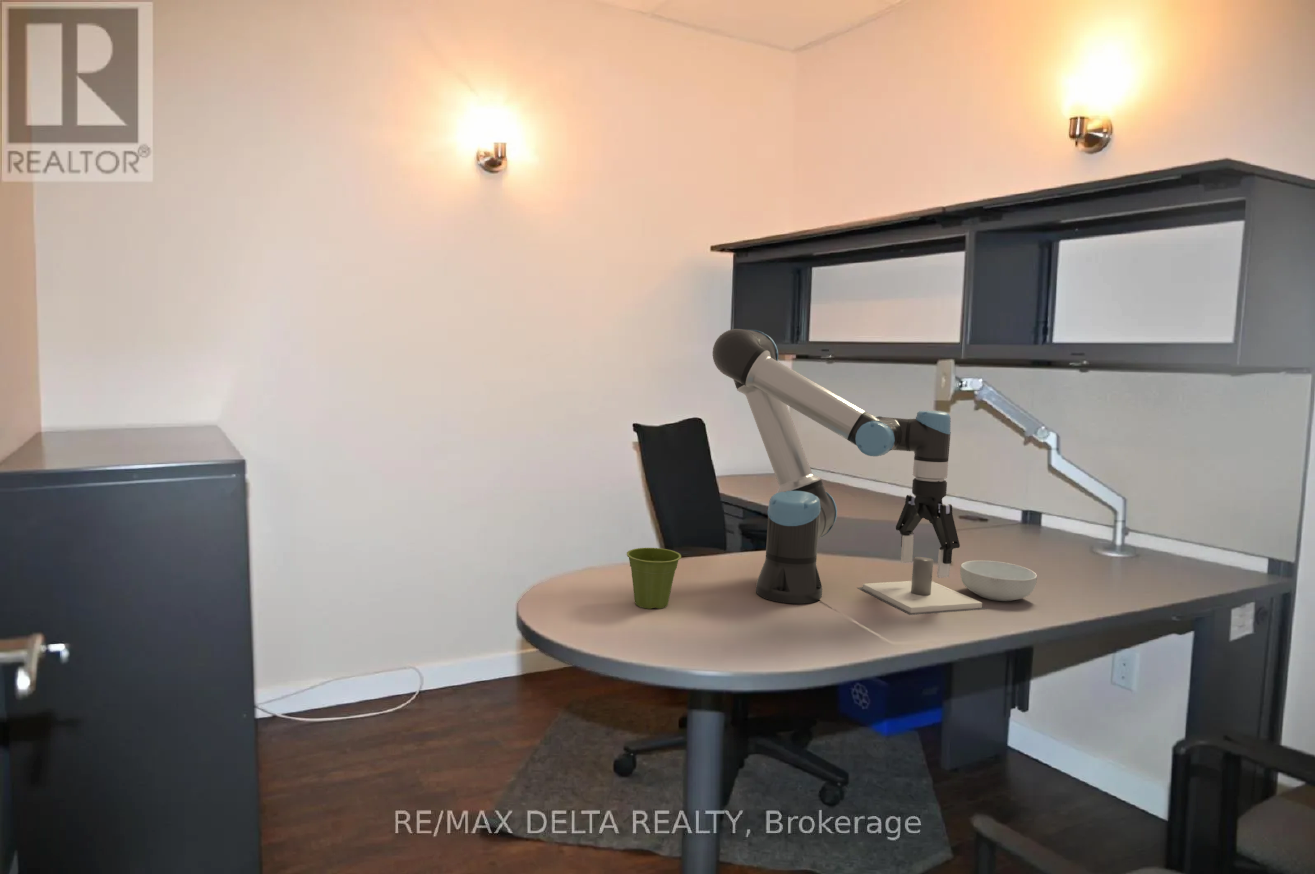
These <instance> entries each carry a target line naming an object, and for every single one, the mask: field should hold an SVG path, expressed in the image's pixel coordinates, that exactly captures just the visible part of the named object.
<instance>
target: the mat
mask: <svg viewBox="0 0 1315 874" xmlns="http://www.w3.org/2000/svg"><path fill="white" fill-rule="evenodd" d="M862 587H863V586H862ZM862 587H857V589H858V590H860V591H862V592H864V593H866V594H868V596H869V595H870V596H871V597H873V598H876V599H877V600H879V601H881V602H883V603H886V604H887V605H889V606H891V607H893V608H895V609H896V610H899V611H901V612H903V613H905V614H907V615H909V616H915V615H917V616H918V615H928V614H930V615H931V614H943V613H953V612H954V613H955V612H956V613H957V612H968V611H969V612H970V611H981V610H988V608H987V607H985V606H983V605H982V608H973V609H960V610H946V611H933V612H919V613H910V612H908V611H906V610H904V609H902V608H900V607H898V606H896V605H894V604H892V603H890V602H888V601H886V600H884V599H882V598H880V597H878V596H876V595H874V594H872V593H870V592H868V591H866V590H864V589H862Z"/></svg>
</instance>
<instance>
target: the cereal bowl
mask: <svg viewBox="0 0 1315 874" xmlns="http://www.w3.org/2000/svg"><path fill="white" fill-rule="evenodd" d="M959 571H960V572H959V573H960V578H961V582H962V583H963V585H964V586H965V587H966V589H968V590H969V591H970V592H972V593H973V594H976V595H977V596H979V597H981V598H983V599H987V600H992V601H998V602H1012V601H1015V600H1016V601H1017V600H1021V599H1024V598H1026V597H1028V596H1029V595H1031V594H1032V593H1033V592H1034V590H1035V588H1036V586H1037V580H1038V575H1037V573H1036V572H1034V571H1033V570H1032V569H1029V568H1027V567H1025V566H1023V565H1022V566H1021V565H1019V564H1014V563H1010V562H1003V561H997V560H968V561H964V562H963V563H961V564H960V570H959Z"/></svg>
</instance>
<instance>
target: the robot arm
mask: <svg viewBox="0 0 1315 874" xmlns="http://www.w3.org/2000/svg"><path fill="white" fill-rule="evenodd" d="M776 344H777V343H775V341H774V339H773V338H772V337H771V336H770V335H768V334H766V333H764V332H763V331H760V330H757V329H744V328H743V329H742V328H732V329H729V330H726V331H724V332H723V333H721V334H720V335H719V336H718V337H717V339H716V340H715V341H714V344H713V347H712V359H713V360H712V361H713V363H714V365H715V367H716V369H718V371H719V372H720V373H722V374H723V375H725V376H726V377H728V378H730V379H732V380H733V382H734V385H735V388H736V391H738V392H739V393H742V394H743V395H745V398H746V399H747V403H748V405H749V408H750V411H751V413H752V415H753V418H754V422H755V425H756V427H757V429H758V432H759V435H760V437H761V440H762V442H763V443H762V444H763V446H764V448H765V451H766V453H767V456H768V459H769V462H770V464H771V467H772V469H773V472H774V475H775V477H776V481H777V483H778V488H777V489H776V490H777V491H776V493H774V494H773V495H772V496H771V497H770V498H769V503H768V507H767V527H766V528H767V529H766V530H767V531H766V541H765V542H766V543H765V544H766V545H765V546H766V547H765V560H764V563H763V566H762V567H761V569H760V573H759V575H758V578H757V580H756V583H755V584H756V587H755V592H756V594H757V595H758V596H759V597H761V598H763V599H765V600H769V601H772V602H776V603H777V602H778V603H782V604H783V603H784V604H793V605H794V604H795V605H796V604H798V605H799V604H800V605H801V604H802V605H803V604H813V603H816V602H818V601H820V599H821V598H822V597H823V596H822V595H823V586H822V582H821V579H820V578H821V576H820V574H819V571H818V566H817V560H818V559H817V556H818V541H819V539H820V538H822V537H824V536H826V535H827V534H828V533H829V532H830V531H831V530H832V528H833V526H835V523H836V521H837V518H838V508H837V503H836V502H835V499H834V497H833V496H832V495H831V494H830V493H829V492H828V491H827V490H826V488H825V486H824V484H823V480H822V478H821V477H819V476H817V475H815V474H814V473H813V472H812V469H811V466H810V464H809V461H808V458H807V456H806V453H805V450H804V448H803V444H802V443H801V439H800V437H799V434H798V432H797V429H796V427H795V424H794V420H793V419H792V415H791V413H790V411H789V408H788V406H789V407H790V408H791V409H793V410H795V411H797V412H799V413H800V414H802V415H803V416H805V417H807V418H809V419H810V420H812V421H814V422H815V423H817V424H819V425H821V426H822V427H825V428H827V429H828V430H830V431H831V432H833V433H835V434H837V435H838V436H839V437H842V438H843V439H846V440H847V441H848V442H850V443H851V444H853V445H855V446H856V447H857V448H858V450H859V451H860V452H861V453H862V454H864V455H866V456H868V457H879V456H880V457H881V456H884V455H886V454H888V453H889V452H890V451H901V452H902V451H903V452H914V455H913V466H912V467H913V468H912V475H913V477H914V478H913V479H912V485H911V487H912V488H911V489H912V490H911V494H907V495H906V496H905V500H904V501H905V502H904V505H903V508H902V510H901V513H900V515H899V518H898V521H897V523H896V525H895V529H896V531H899V532H900V533H899V534H900V535H901V536H900V537H901V542H900V547H901V549H900V550H901V551H900V552H901V553H900V563H902V564H907V563H908V564H910V563H913V556H914V554H913V552H914V537H915V536H914V530H915V529H916V528H917V527H918V525H919V523H920V522H921V521H922V519H925V520H927V521H928V522H929V523H930V524H932V527H933V529H934V532H935V535H936V537H937V540H938V541H939V544H940V546H939V548H938V557H937V571H936V572H937V573H936V574H937V575H936V577H937V578H938V579H940V578H941V579H942V578H950V571H951V564H952V559H953V558H952V556H953V550H955V549H959V548H960V547H961V544H960V540H959V535H958V532H957V529H956V523H955V521H954V520H955V519H954V516H953V505H952V504H951V503H947V504H946V503H943V499H944V498H945V497H946V496H947V492H948V491H947V490H948V488H947V487H948V482H947V480H945V479H947V478H948V471H949V469H948V468H949V457H950V444H951V443H950V442H951V434H952V432H951V415H950V414H949V413H948V412H945V411H939V410H938V411H937V410H935V411H934V410H919V411H918V412H917V413H916V416H915V418H898V417H890V416H889V417H887V416H886V417H884V416H880V415H879V416H875V415H873V414H871V413H869V412H867V411H865V410H864V409H862V408H860V407H859V406H857V405H855V404H853V403H852V402H850V401H849V400H847V399H845V398H843V397H842V396H839V395H838V394H836V393H834V392H833V391H830V390H829V389H828V388H826V387H823V386H822V385H821V384H819V383H816V382H815V381H813V380H812V379H810V378H807V377H806V376H804V375H802V374H801V373H799V372H797V371H796V370H794V369H792V368H790V367H789V366H787V365H785V364H783V363H782V362H779V350H778V346H777V345H776Z"/></svg>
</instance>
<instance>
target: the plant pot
mask: <svg viewBox="0 0 1315 874" xmlns="http://www.w3.org/2000/svg"><path fill="white" fill-rule="evenodd" d="M626 556H627V557H628V561H629V567H630V570H631V577H632V578H631V580H632V589H633V598H634V603H635V605H636V606H638V607H639V608H642V609H643V608H644V609H645V610H646V609H648V610H651V609H654V608H655V609H663V608H666V607H668V604H669V601H670V595H671V591H672V587H673V583H674V582H673V581H674V577H675V574H676V570H677V568H678V564H679V563H678V562H679V560H681V558H682V554H681V553H679V552H677V551H675V550H671V549H666V548H660V547H659V548H658V547H638V548H633V549H630V550H627V552H626Z"/></svg>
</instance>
